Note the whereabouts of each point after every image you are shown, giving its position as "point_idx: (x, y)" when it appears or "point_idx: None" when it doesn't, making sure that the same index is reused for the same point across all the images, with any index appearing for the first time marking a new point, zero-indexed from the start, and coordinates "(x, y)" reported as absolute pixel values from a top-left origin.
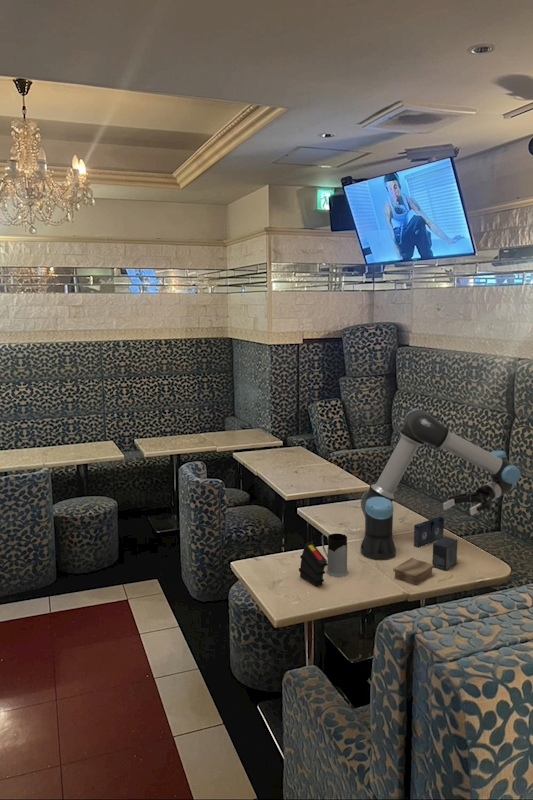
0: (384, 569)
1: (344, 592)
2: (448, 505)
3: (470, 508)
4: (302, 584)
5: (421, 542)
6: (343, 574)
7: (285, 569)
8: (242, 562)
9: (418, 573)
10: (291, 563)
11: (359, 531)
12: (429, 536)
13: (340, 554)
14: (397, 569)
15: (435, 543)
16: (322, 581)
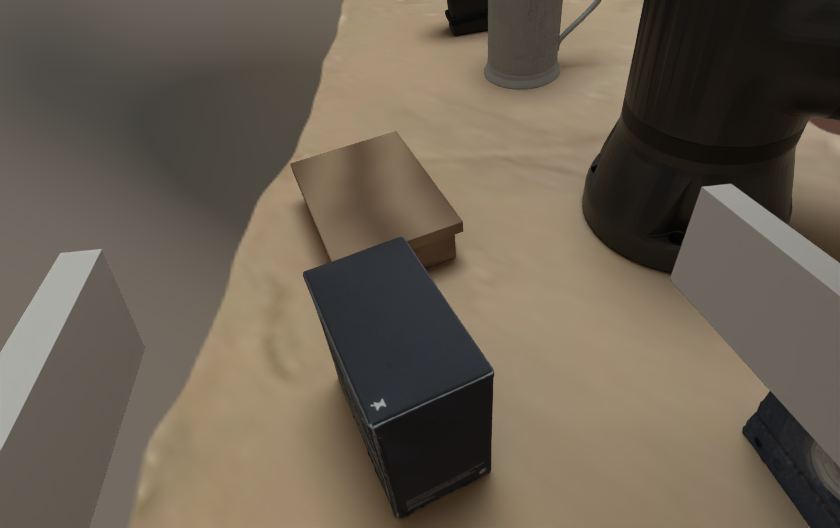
0: (487, 171)
1: (387, 57)
2: (748, 306)
3: (88, 259)
4: None
5: (781, 452)
6: (487, 69)
7: (586, 3)
8: None
9: (303, 178)
10: (626, 14)
11: None
12: None
13: None
14: (380, 138)
15: (394, 246)
16: (449, 22)
